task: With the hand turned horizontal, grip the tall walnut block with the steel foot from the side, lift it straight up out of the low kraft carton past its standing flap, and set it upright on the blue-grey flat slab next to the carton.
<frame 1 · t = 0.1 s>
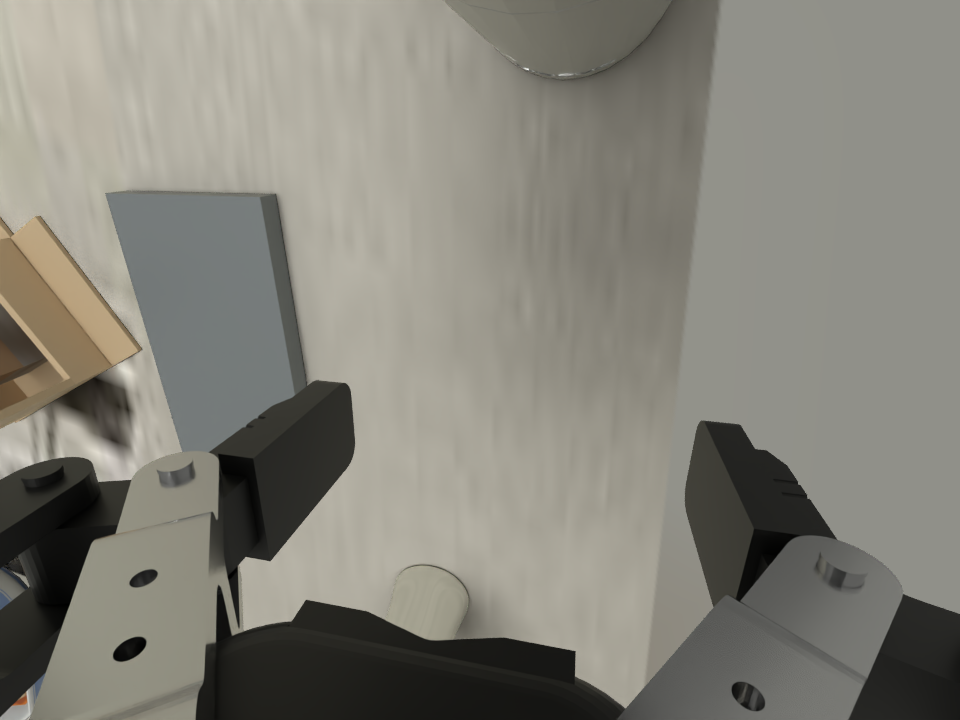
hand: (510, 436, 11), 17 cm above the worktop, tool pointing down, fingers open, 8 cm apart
blue-grey flat slab: (230, 334, 33), on the worktop
carton: (28, 330, 37), on the worktop
beer glass: (432, 591, 40), on the worktop
walnut block: (22, 332, 36), resting on carton
ramen bowl: (6, 585, 52), on the worktop
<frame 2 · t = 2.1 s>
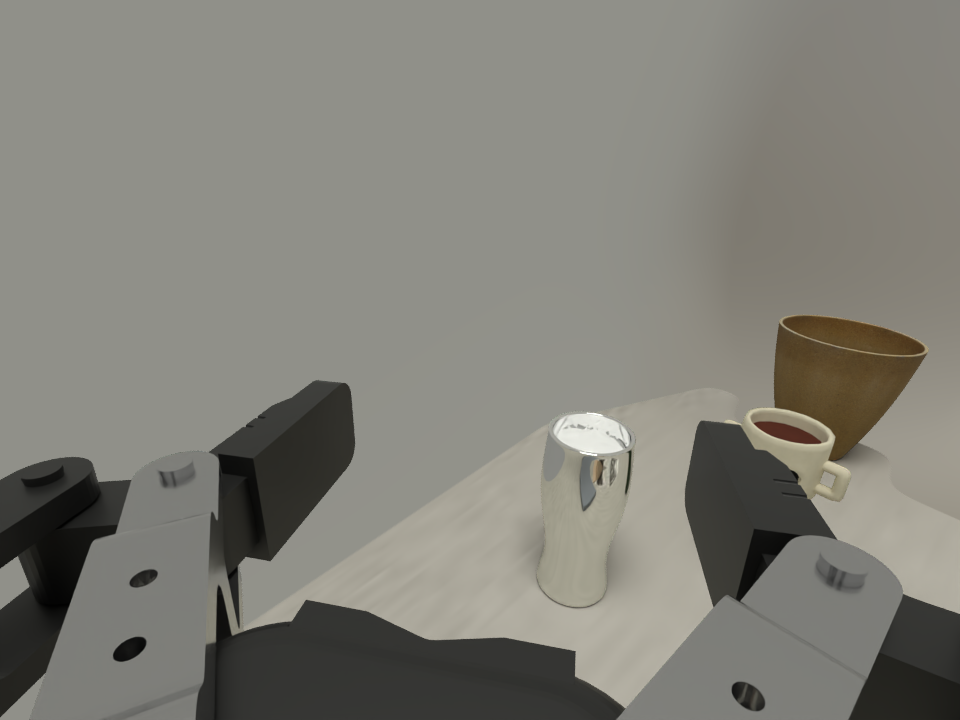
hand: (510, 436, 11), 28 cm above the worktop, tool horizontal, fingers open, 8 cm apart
beer glass: (570, 580, 44), on the worktop
plant pot: (810, 446, 66), on the worktop
character mug: (752, 541, 49), on the worktop
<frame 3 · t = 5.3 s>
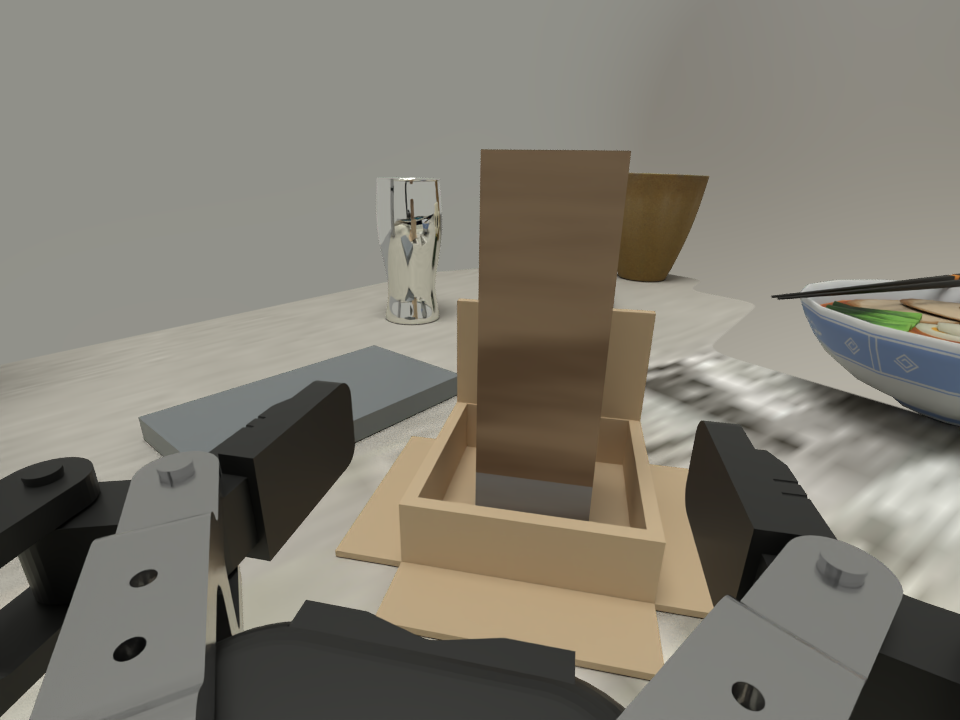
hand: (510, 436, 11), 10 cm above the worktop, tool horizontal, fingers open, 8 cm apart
blue-grey flat slab: (319, 413, 34), on the worktop
carton: (534, 509, 25), on the worktop
beer glass: (412, 318, 57), on the worktop
plant pot: (642, 278, 82), on the worktop
walnut block: (534, 502, 25), resting on carton
ramen bowl: (954, 411, 37), on the worktop
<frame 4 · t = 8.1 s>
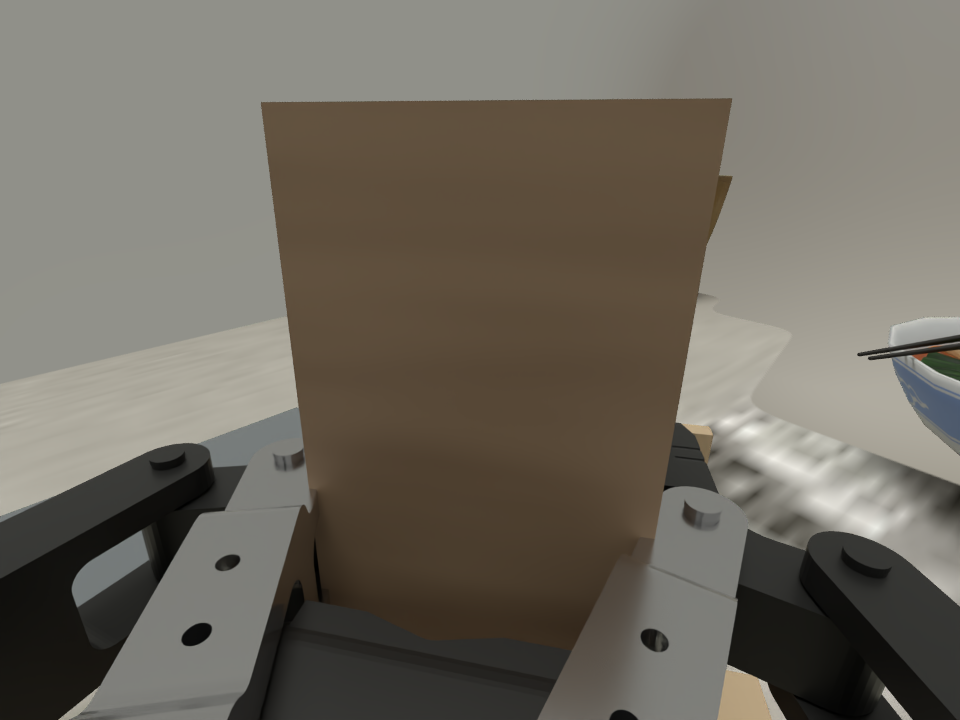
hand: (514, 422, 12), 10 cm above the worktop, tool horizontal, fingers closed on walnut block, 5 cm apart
blue-grey flat slab: (182, 535, 23), on the worktop
plant pot: (652, 295, 70), on the worktop
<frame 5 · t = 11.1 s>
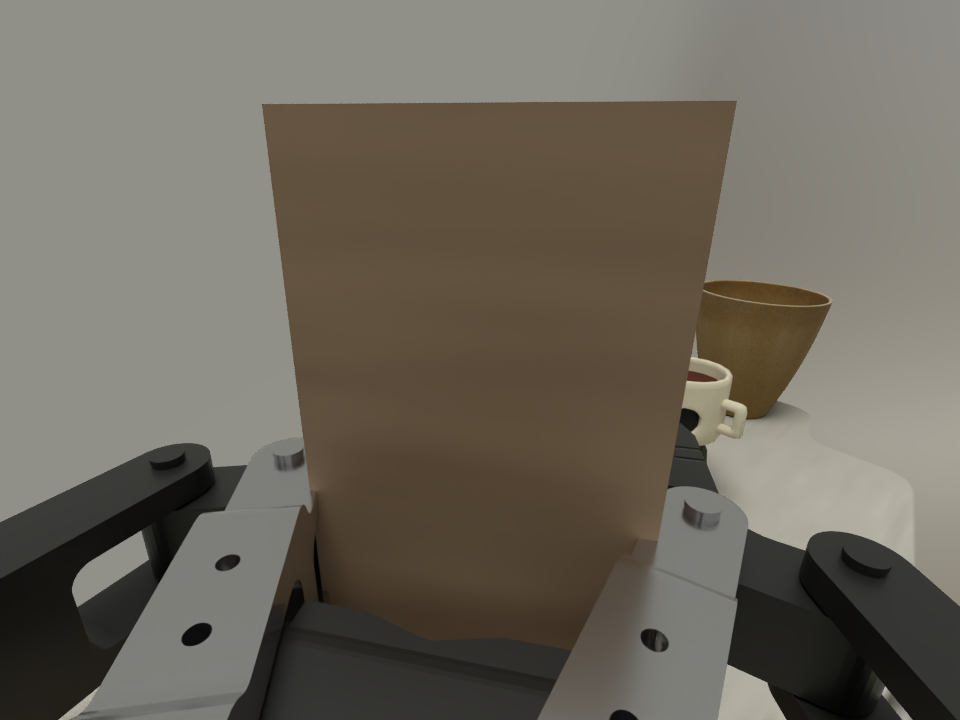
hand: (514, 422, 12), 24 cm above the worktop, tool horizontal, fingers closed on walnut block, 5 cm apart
plant pot: (736, 407, 67), on the worktop
character mug: (668, 491, 49), on the worktop
when the fingers open (13 cm above the worktop, at t = 13.9 s): walnut block drops 2 cm, resting on blue-grey flat slab.
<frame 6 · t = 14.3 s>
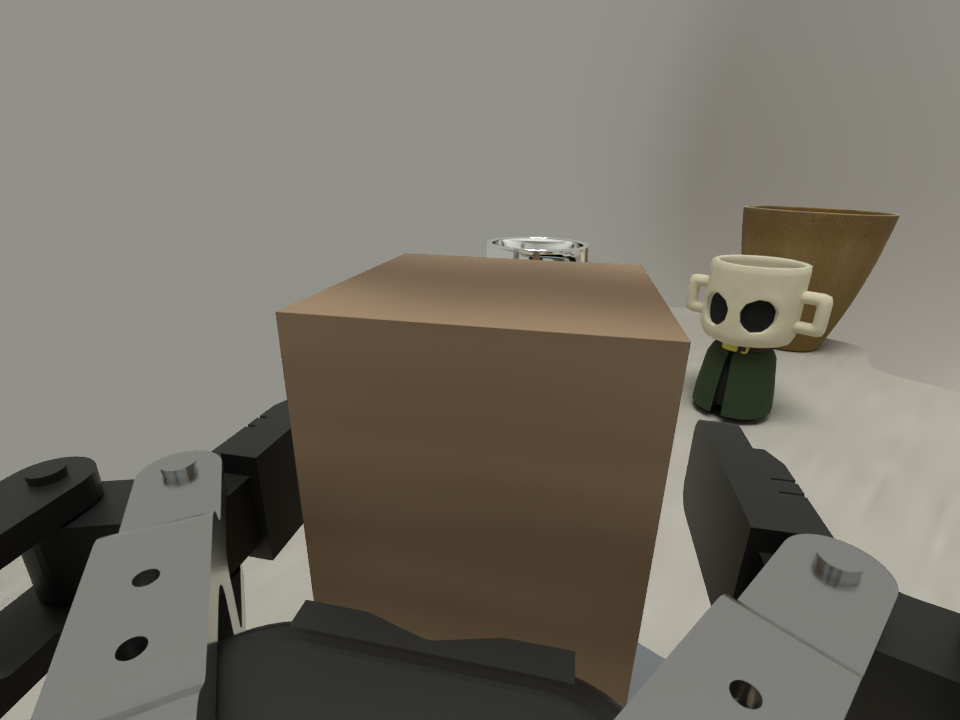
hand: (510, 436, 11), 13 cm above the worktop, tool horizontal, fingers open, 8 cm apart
beer glass: (525, 447, 37), on the worktop
plant pot: (783, 343, 62), on the worktop
character mug: (728, 411, 44), on the worktop
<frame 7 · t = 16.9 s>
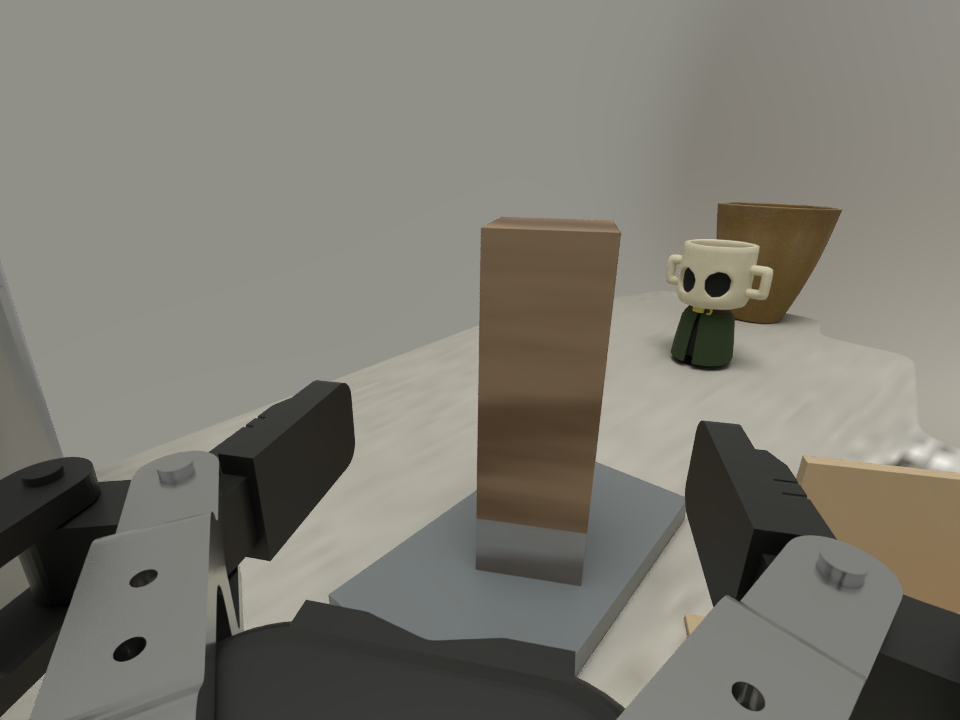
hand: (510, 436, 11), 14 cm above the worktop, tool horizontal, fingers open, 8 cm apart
blue-grey flat slab: (531, 562, 26), on the worktop
plant pot: (752, 318, 74), on the worktop
walnut block: (532, 541, 26), point 1 cm above the worktop, touching blue-grey flat slab
character mug: (699, 362, 56), on the worktop
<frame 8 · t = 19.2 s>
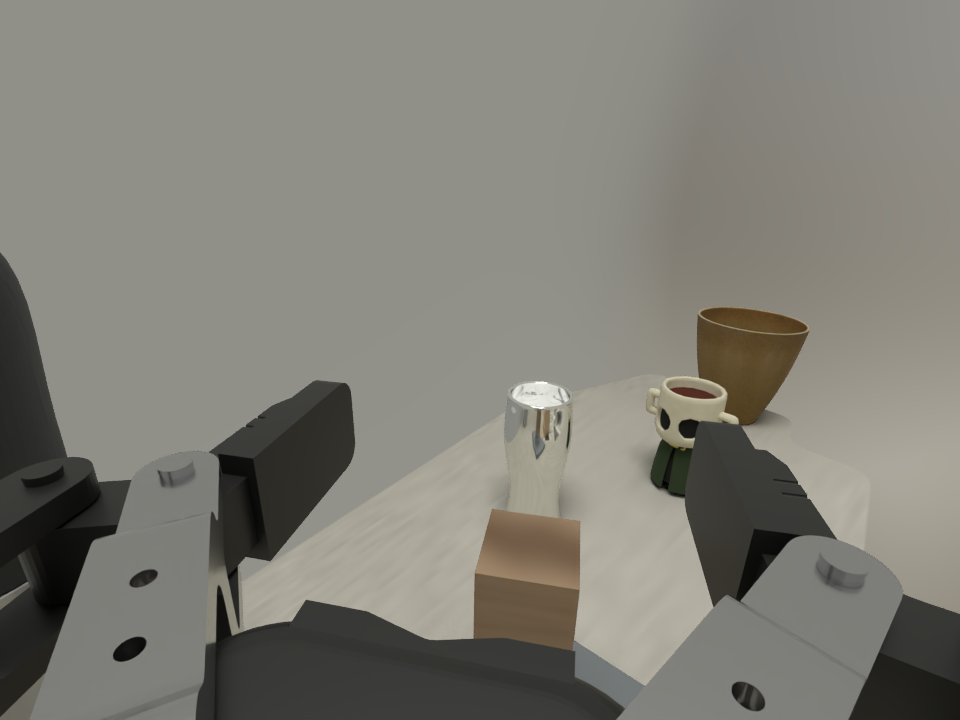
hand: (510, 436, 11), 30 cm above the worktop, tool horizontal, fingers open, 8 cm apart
beer glass: (532, 517, 55), on the worktop
plant pot: (730, 415, 80), on the worktop
character mug: (675, 484, 62), on the worktop
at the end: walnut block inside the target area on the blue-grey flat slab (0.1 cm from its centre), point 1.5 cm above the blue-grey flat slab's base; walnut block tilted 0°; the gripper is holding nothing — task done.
